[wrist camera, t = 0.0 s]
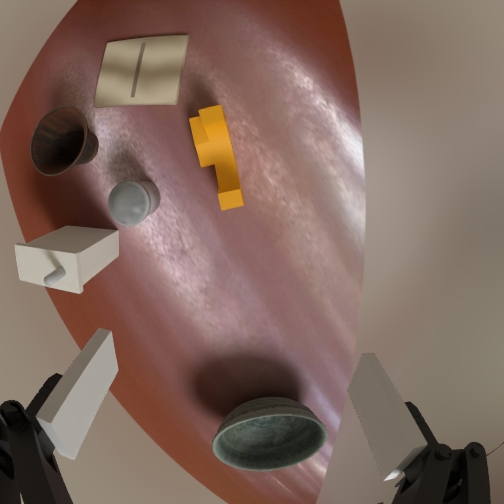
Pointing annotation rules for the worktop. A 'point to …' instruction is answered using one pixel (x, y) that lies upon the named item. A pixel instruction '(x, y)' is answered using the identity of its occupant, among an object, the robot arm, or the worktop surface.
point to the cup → (62, 141)
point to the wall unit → (67, 257)
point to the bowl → (268, 435)
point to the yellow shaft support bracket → (218, 153)
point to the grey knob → (133, 202)
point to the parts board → (142, 71)
